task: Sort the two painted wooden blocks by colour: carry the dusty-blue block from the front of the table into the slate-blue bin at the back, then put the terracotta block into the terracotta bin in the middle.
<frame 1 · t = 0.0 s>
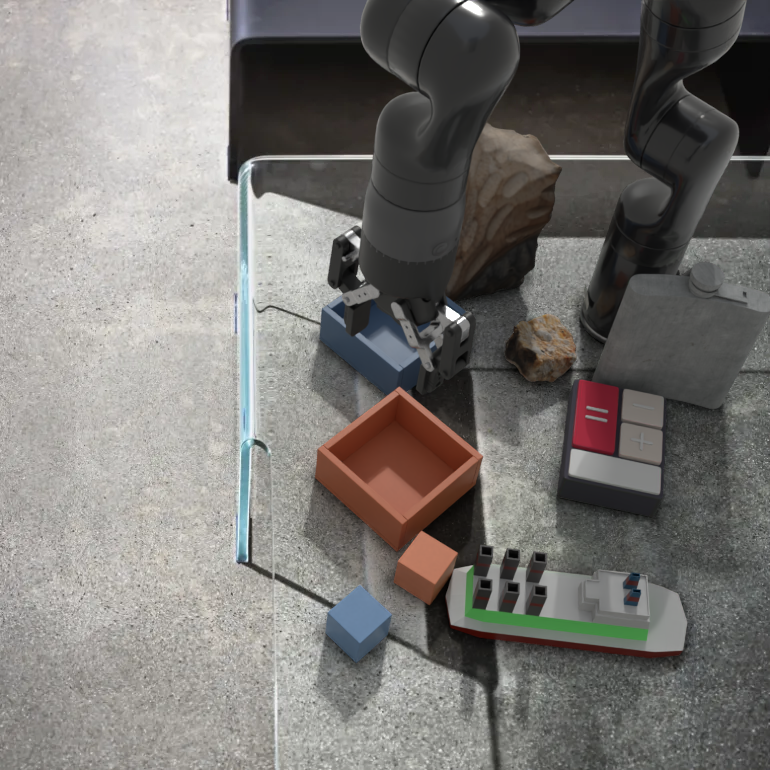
hand: (391, 358, 100), 29 cm above the table, tool pointing down, fingers open, 8 cm apart
calculator: (609, 454, 133), on the table
terracotta bin: (395, 481, 128), on the table
tall brown boulder: (468, 271, 148), on the table
rock: (537, 356, 141), on the table
blue bin: (392, 343, 140), on the table
toy boat: (564, 613, 120), on the table
terracotta block: (422, 578, 120), on the table
hip flask: (656, 389, 139), on the table
blue block: (356, 633, 116), on the table
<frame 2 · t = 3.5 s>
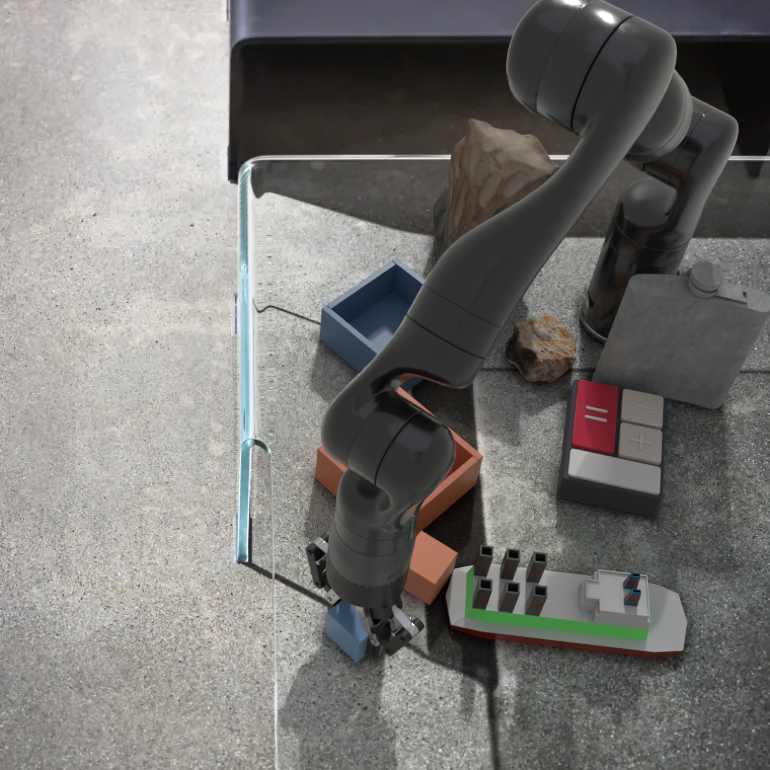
hand: (356, 632, 116), 0 cm above the table, tool pointing down, fingers closed on blue block, 4 cm apart
blue block: (356, 633, 116), on the table, touching gripper
everything else where it was.
when the fingers open (1 cm above the table, at t = 11.8 s): blue block stays where it is, resting on blue bin.
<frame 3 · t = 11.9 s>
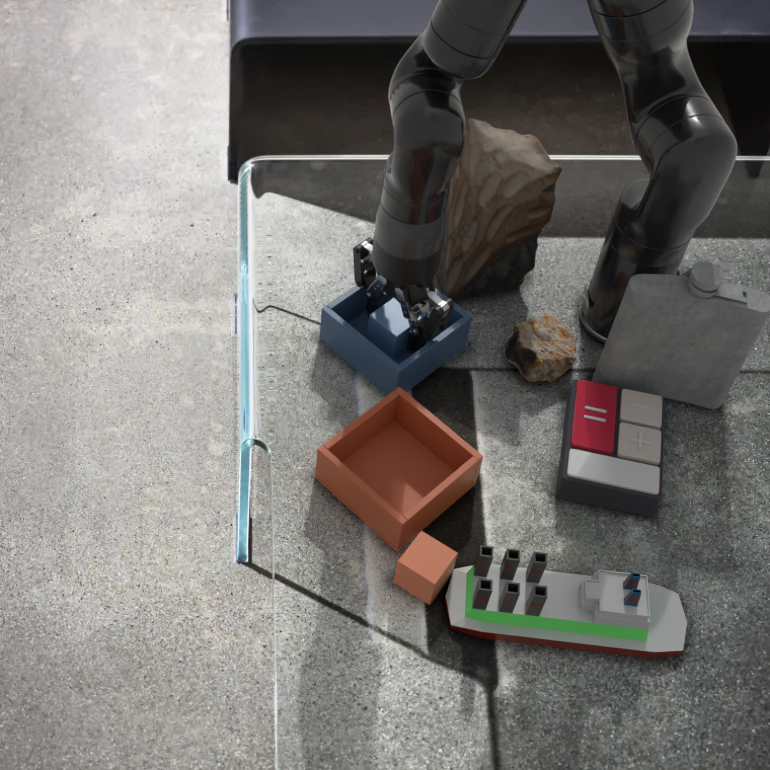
hand: (394, 332, 138), 2 cm above the table, tool pointing down, fingers open, 6 cm apart
blue block: (392, 340, 139), point 1 cm above the table, touching blue bin
everything else where it was.
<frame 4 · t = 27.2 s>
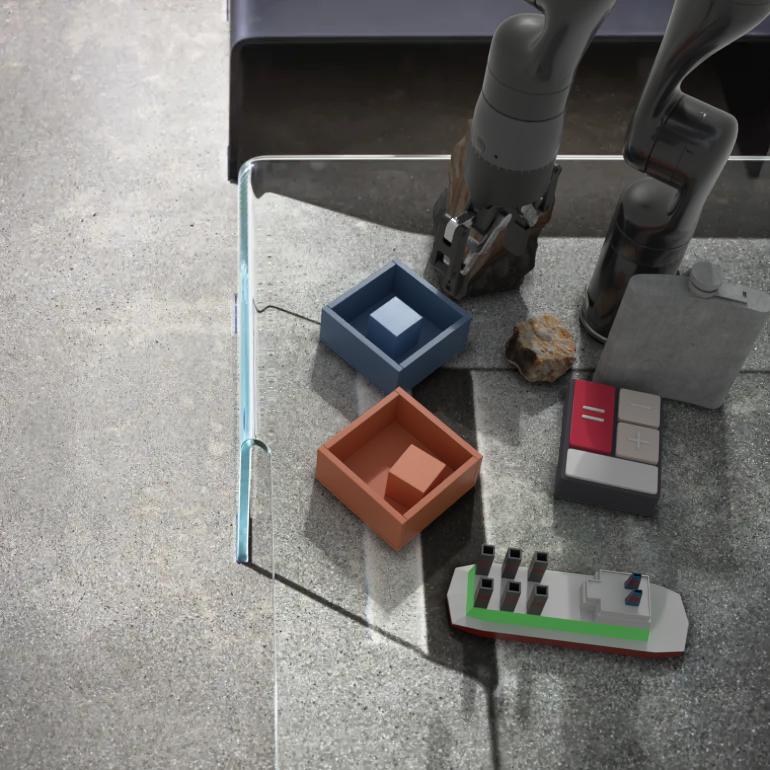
hand: (483, 271, 109), 28 cm above the table, tool pointing down, fingers open, 8 cm apart
terracotta block: (412, 490, 126), point 1 cm above the table, touching terracotta bin
everything else where it was.
at the end: blue block inside the target area in the blue bin (0.2 cm from its centre), point 0.6 cm above the blue bin's base; terracotta block inside the target area in the terracotta bin (2.4 cm from its centre), point 0.6 cm above the terracotta bin's base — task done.
